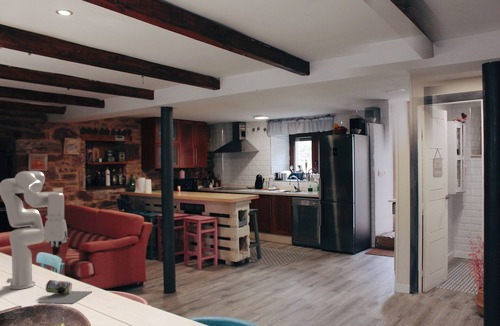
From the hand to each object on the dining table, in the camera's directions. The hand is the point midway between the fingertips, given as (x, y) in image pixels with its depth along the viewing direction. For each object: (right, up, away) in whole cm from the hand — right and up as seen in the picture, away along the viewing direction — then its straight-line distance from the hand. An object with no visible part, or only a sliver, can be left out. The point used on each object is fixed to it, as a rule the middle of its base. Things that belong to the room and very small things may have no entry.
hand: (56, 254), depth 207 cm
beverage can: (-6, -18, +2) cm, 19 cm away
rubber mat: (+5, -21, -1) cm, 22 cm away
